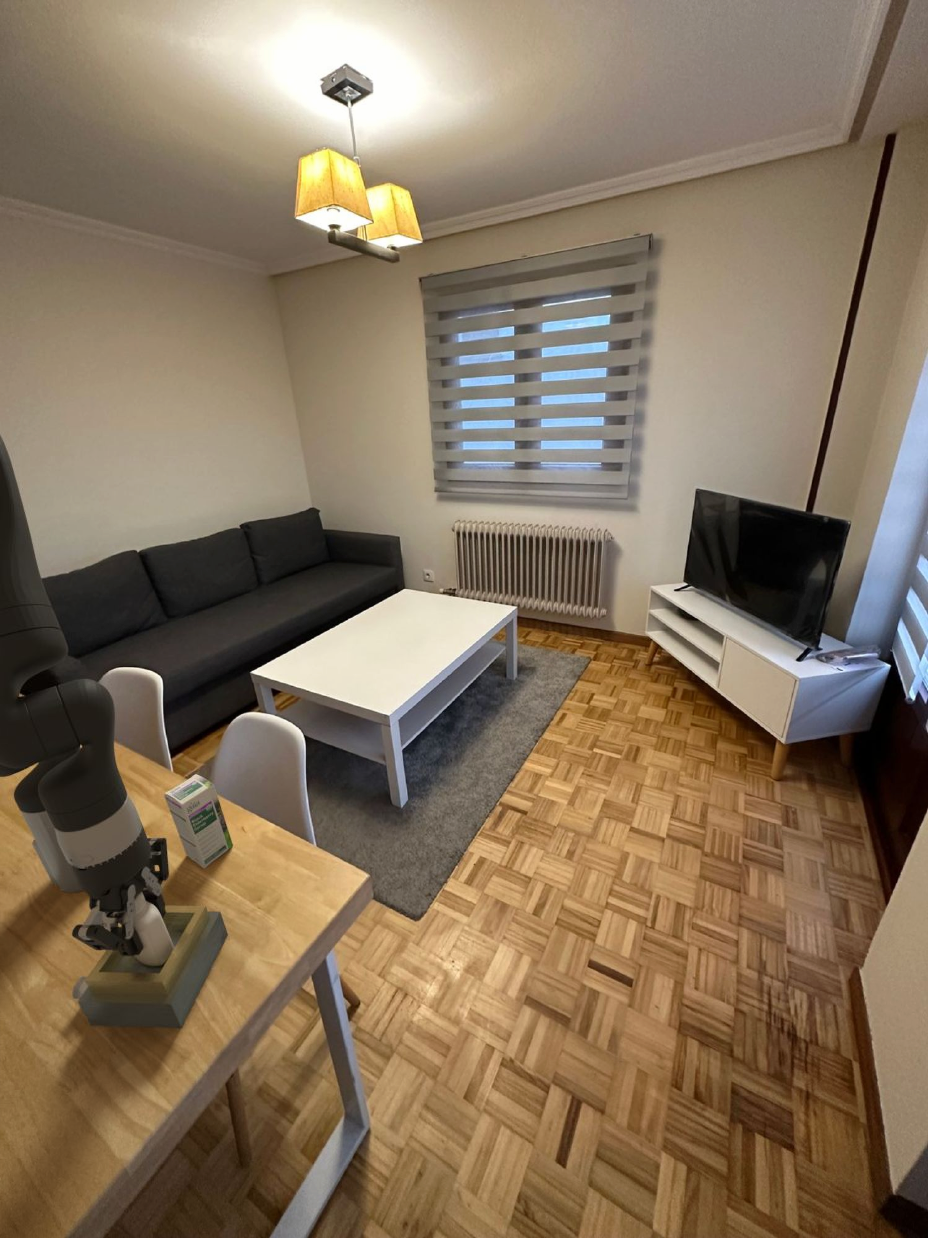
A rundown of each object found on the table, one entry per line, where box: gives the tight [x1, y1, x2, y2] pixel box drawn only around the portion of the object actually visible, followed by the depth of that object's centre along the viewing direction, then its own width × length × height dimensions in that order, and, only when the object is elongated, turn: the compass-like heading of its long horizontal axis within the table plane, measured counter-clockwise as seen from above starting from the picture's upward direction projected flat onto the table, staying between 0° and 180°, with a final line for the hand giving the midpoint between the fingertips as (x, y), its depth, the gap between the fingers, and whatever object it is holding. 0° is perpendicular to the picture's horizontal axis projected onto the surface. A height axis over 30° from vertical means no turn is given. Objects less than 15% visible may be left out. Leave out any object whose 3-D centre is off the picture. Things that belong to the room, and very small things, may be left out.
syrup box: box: [163, 773, 234, 869], centre depth 84 cm, size 6×6×14 cm
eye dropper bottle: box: [119, 892, 174, 966], centre depth 63 cm, size 4×6×12 cm
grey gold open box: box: [71, 905, 229, 1029], centre depth 65 cm, size 15×12×8 cm
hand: (146, 933), depth 63 cm, fingers open, 4 cm apart
